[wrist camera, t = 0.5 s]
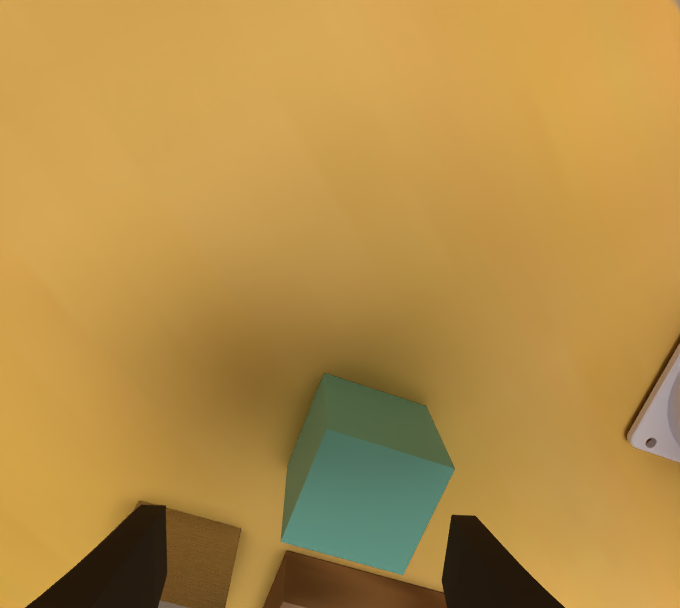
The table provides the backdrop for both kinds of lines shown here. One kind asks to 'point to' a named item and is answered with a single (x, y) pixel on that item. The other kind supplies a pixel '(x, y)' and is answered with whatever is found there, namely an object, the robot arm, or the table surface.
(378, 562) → the teal cube
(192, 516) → the steel cube
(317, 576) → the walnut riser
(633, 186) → the table surface
